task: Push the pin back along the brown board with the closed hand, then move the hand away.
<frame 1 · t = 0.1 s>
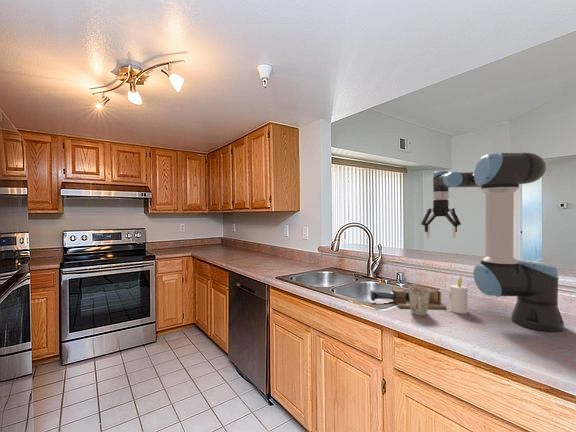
hand: (440, 238, 158), 28 cm above the counter, fingers open, 13 cm apart
mug: (419, 315, 119), on the counter
candle: (458, 311, 123), on the counter
pin: (393, 295, 137), point 3 cm above the counter, slide at 9.0 cm
brown board: (414, 301, 136), on the counter
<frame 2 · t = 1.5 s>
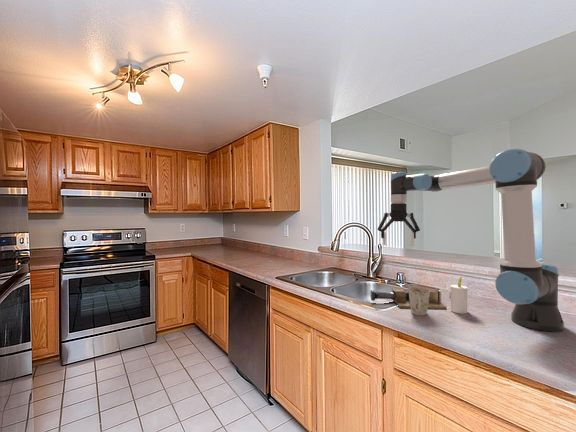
hand: (398, 245, 146), 26 cm above the counter, fingers open, 13 cm apart
nothing on the counter moved.
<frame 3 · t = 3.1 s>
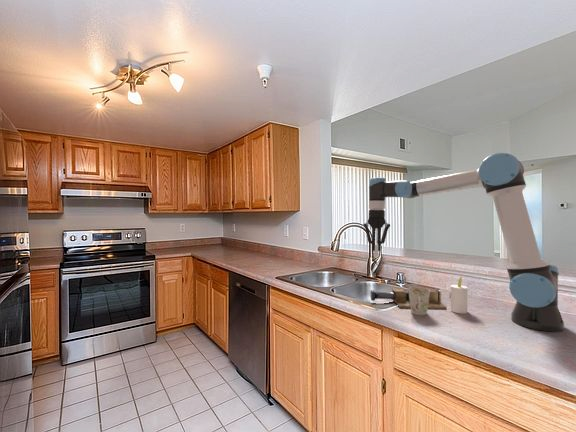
hand: (375, 257, 141), 20 cm above the counter, fingers closed
nothing on the counter moved.
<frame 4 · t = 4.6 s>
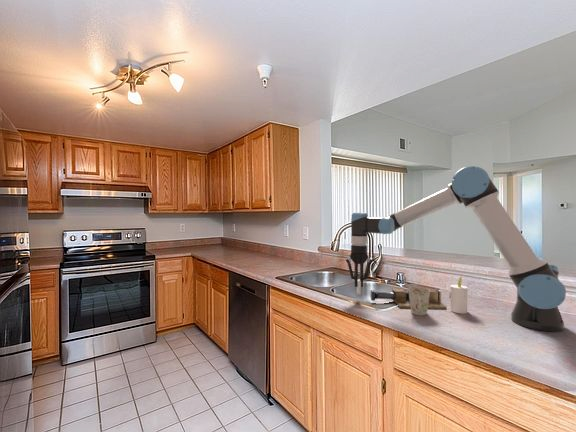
hand: (358, 293, 138), 3 cm above the counter, fingers closed
nothing on the counter moved.
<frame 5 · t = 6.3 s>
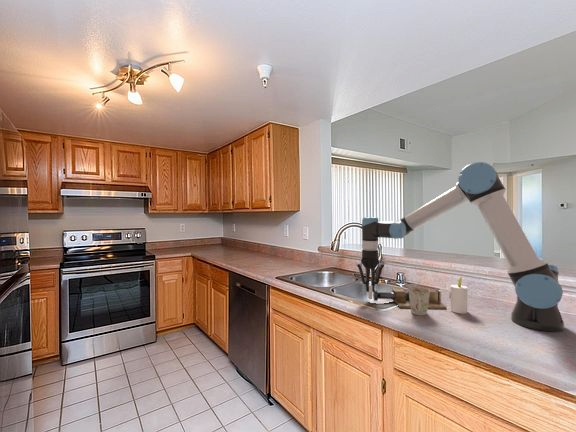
hand: (370, 298, 138), 1 cm above the counter, fingers closed
pin: (396, 295, 137), point 3 cm above the counter, slide at 7.7 cm, touching gripper
everything else where it was.
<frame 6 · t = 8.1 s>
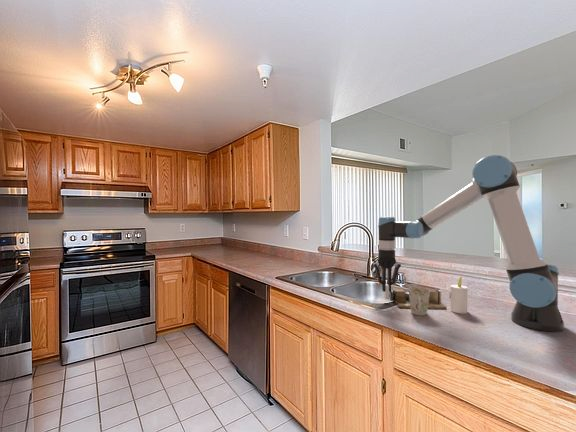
hand: (386, 298, 137), 1 cm above the counter, fingers closed
pin: (413, 296, 136), point 3 cm above the counter, slide at 0.0 cm, touching gripper
everything else where it was.
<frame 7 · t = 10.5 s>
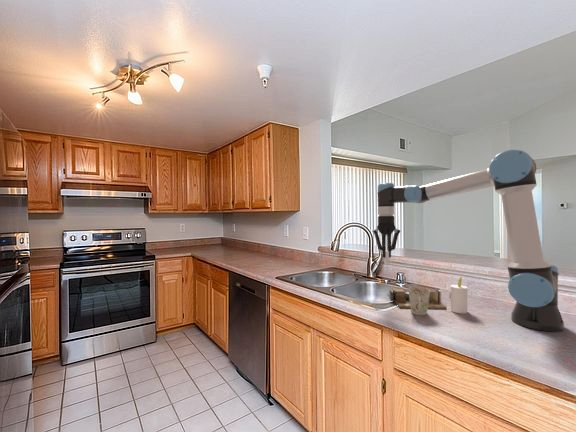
hand: (386, 264, 138), 17 cm above the counter, fingers closed
pin: (413, 296, 136), point 3 cm above the counter, slide at 0.0 cm
everything else where it was.
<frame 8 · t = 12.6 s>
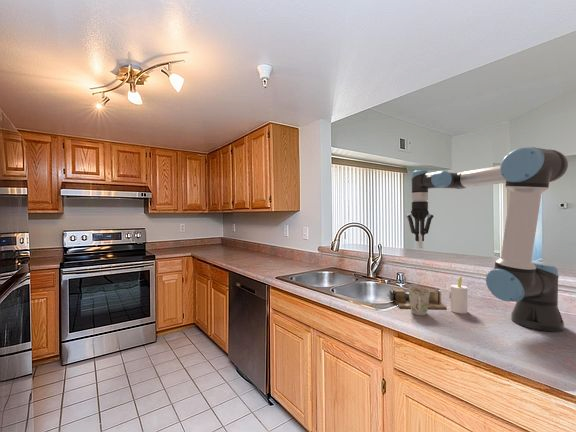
hand: (419, 247, 146), 24 cm above the counter, fingers closed
nothing on the counter moved.
at the end: pin slide at 0.0 cm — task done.
